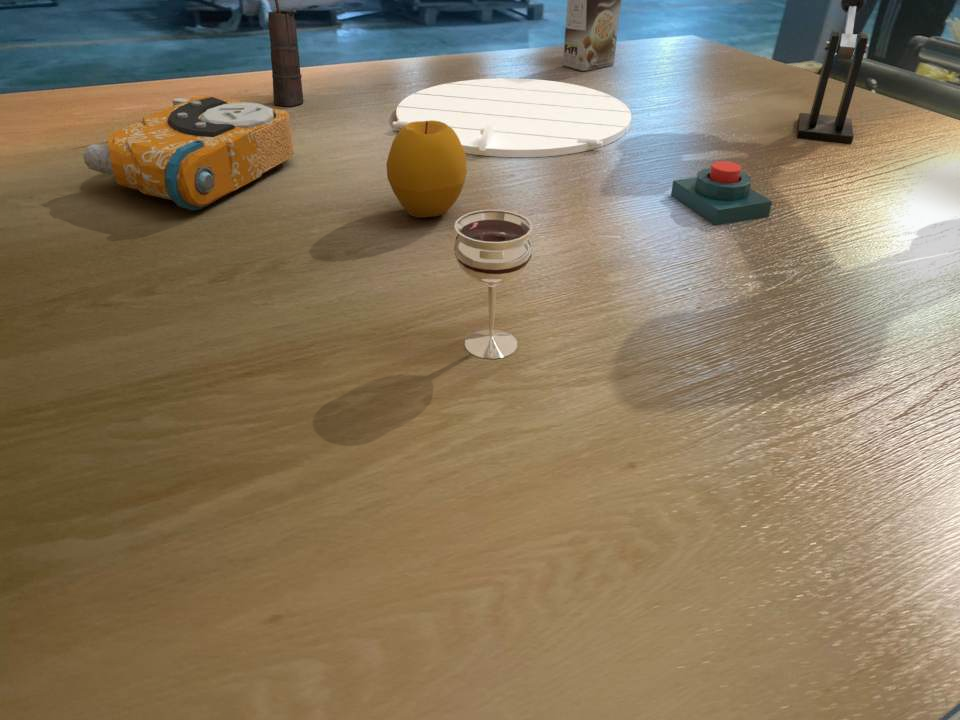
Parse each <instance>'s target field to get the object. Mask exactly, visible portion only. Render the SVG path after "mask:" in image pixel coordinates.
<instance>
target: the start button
mask: <svg viewBox="0 0 960 720" xmlns="http://www.w3.org/2000/svg"><path fill="white" fill-rule="evenodd" d="M710 168H711V170H710V175H709V179H711V180H712V181H716V182H719V183H729V184H731V183H737V182H738V181H739V176H740V172H742V166H741V165H740V164H738V163H737V162H732V161H726V160H721V161H719V160H718V161H713V162H712V163H711V165H710Z"/></svg>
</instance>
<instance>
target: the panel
mask: <svg viewBox="0 0 960 720" xmlns="http://www.w3.org/2000/svg"><path fill="white" fill-rule="evenodd" d="M710 170H711V167H709V168H703V169H701V170H700V171H698V172H697V173H696V177H695V176H694V177H688V178H682V179H675V180H672V185H671V192H670V196H671V197H672V198H673V199H675V200H676V201H678V202H679V203H681V204H682V205H684V206H685V207H686V208H688V209H689V210H691V211H692V212H694V213H695V214H696V215H698V216H699V217H701V218H702V219H704V220H705V221H707V222H708V223H710V224H711V225H712V226H715V227H716V226H717V227H718V226H722V225H729V224H734V223H741V222H746V221H754V220H759V219H764V218H769V217H770V213H771V210H772V204H773V200H771V199H769V198H768V197H766V196H764V195H763V194H761V193H759V192H757V191H755V190H754V189H752V188H751V186H752V179H751V176H750V175H748V174H747V173H745V172H743V171H741V172H740V176H739V181H738V182H737V183H731V184H729V183H719V182H716V181H712V180H711V179H709V175H710Z"/></svg>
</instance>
